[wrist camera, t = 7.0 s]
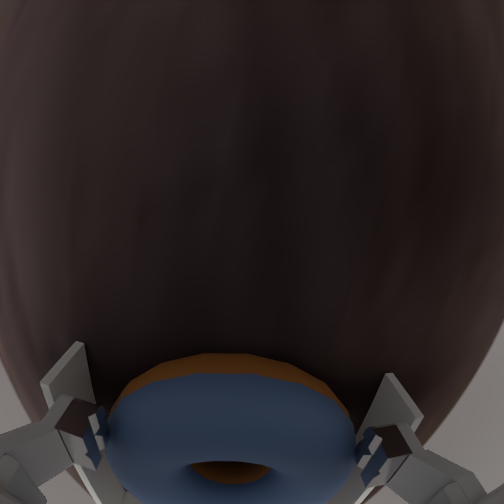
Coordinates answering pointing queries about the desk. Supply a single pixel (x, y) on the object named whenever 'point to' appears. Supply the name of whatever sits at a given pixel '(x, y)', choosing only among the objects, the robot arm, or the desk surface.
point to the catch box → (118, 500)
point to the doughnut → (230, 433)
